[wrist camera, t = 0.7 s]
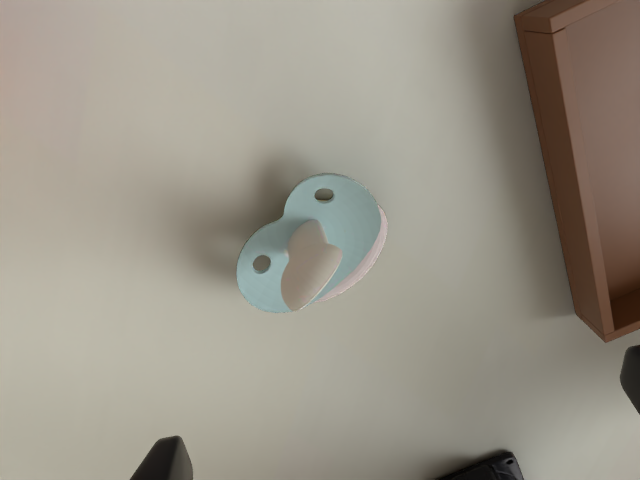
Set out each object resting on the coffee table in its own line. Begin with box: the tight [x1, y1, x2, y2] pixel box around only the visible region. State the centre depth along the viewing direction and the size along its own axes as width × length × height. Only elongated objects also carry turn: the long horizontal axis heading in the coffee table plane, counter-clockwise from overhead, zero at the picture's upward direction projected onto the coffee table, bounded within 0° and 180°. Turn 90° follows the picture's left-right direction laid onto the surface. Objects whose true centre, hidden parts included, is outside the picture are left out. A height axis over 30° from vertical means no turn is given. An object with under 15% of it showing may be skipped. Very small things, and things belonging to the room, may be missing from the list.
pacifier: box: [236, 173, 388, 313], centre depth 20 cm, size 7×6×6 cm
